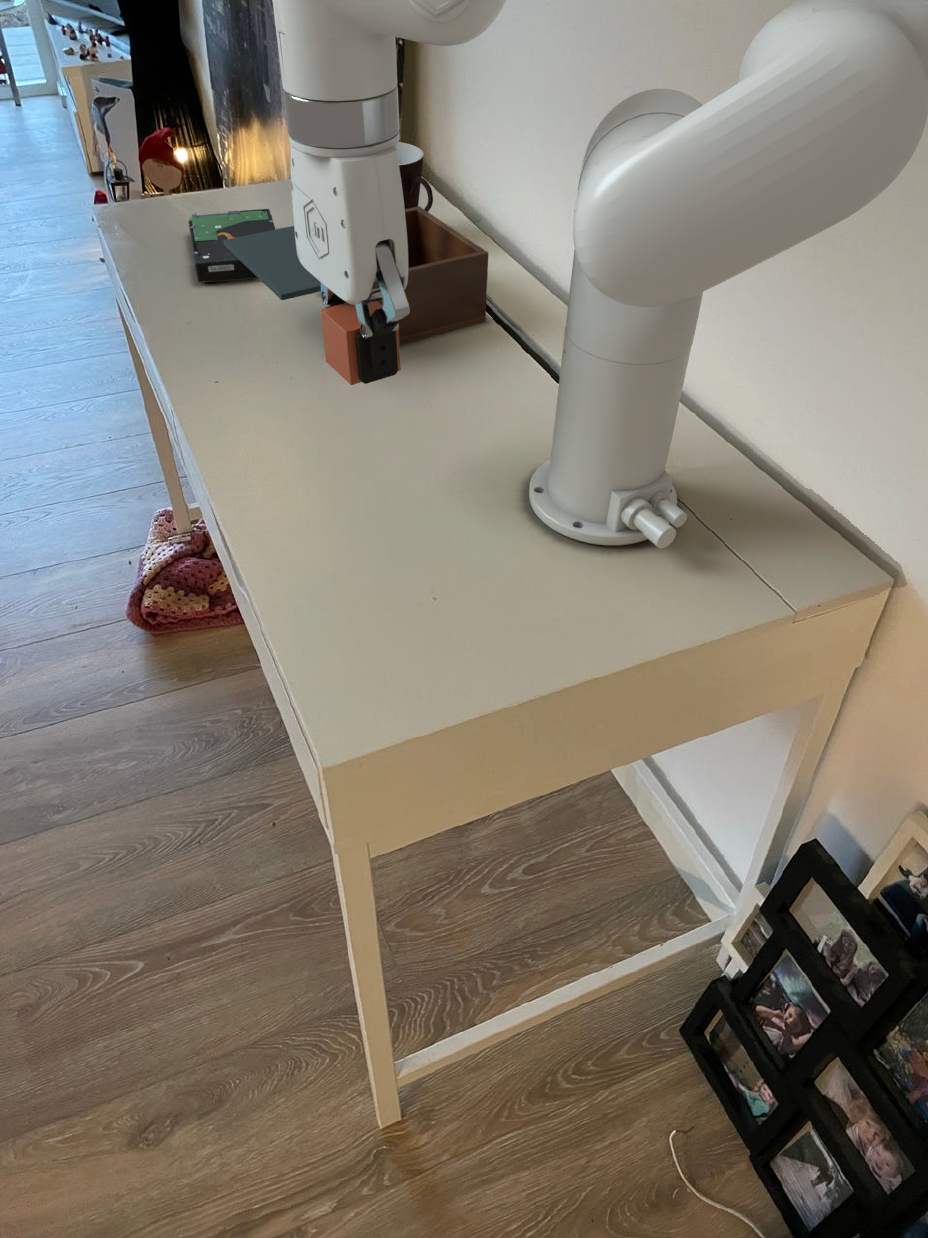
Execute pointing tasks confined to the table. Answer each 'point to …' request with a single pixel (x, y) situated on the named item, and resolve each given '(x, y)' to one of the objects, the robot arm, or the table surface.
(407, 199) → the coffee mug
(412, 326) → the walnut box
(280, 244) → the teal box lid
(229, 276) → the disk drive
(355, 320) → the terracotta block
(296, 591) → the table surface
